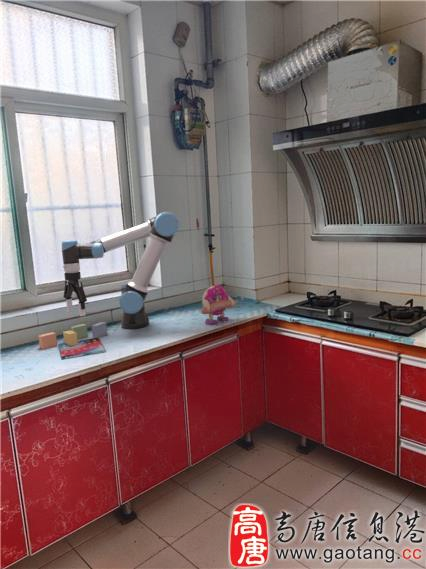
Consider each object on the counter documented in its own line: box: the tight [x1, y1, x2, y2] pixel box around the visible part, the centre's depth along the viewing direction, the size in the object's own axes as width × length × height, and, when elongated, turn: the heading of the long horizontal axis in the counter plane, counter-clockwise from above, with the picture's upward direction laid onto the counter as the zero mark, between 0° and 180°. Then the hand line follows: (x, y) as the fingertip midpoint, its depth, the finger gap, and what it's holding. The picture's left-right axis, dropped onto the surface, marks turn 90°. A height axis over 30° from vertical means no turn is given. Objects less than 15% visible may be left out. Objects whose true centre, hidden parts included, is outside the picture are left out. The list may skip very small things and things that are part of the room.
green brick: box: [70, 323, 89, 340], centre depth 220 cm, size 7×4×6 cm, turn 134°
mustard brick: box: [62, 329, 79, 346], centre depth 209 cm, size 7×4×6 cm, turn 44°
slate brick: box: [90, 321, 108, 338], centre depth 221 cm, size 7×4×6 cm, turn 154°
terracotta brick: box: [37, 331, 58, 350], centre depth 208 cm, size 7×4×6 cm, turn 134°
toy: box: [200, 284, 238, 326], centre depth 232 cm, size 25×9×20 cm, turn 129°
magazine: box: [57, 337, 107, 361], centre depth 202 cm, size 19×25×1 cm
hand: (76, 313), depth 219 cm, fingers open, 13 cm apart
